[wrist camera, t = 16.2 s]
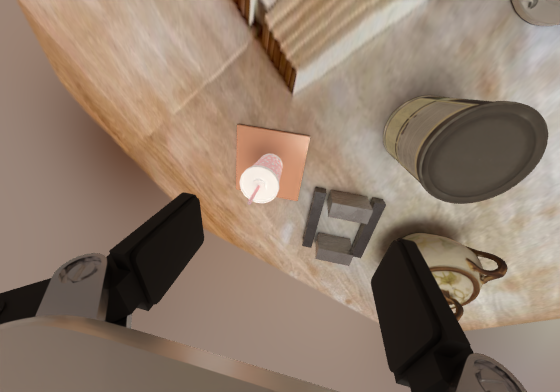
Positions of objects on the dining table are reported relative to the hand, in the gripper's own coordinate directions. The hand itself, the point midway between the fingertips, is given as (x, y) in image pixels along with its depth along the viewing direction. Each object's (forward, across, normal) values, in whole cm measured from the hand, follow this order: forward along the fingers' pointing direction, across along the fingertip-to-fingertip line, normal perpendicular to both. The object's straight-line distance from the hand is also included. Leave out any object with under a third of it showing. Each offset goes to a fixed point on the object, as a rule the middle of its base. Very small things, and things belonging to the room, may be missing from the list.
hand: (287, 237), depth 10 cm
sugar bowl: (+29, -26, +22) cm, 44 cm away
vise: (+28, -9, +19) cm, 35 cm away
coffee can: (+29, -16, -1) cm, 33 cm away
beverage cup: (+27, +7, +8) cm, 29 cm away
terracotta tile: (+28, +7, +8) cm, 30 cm away
